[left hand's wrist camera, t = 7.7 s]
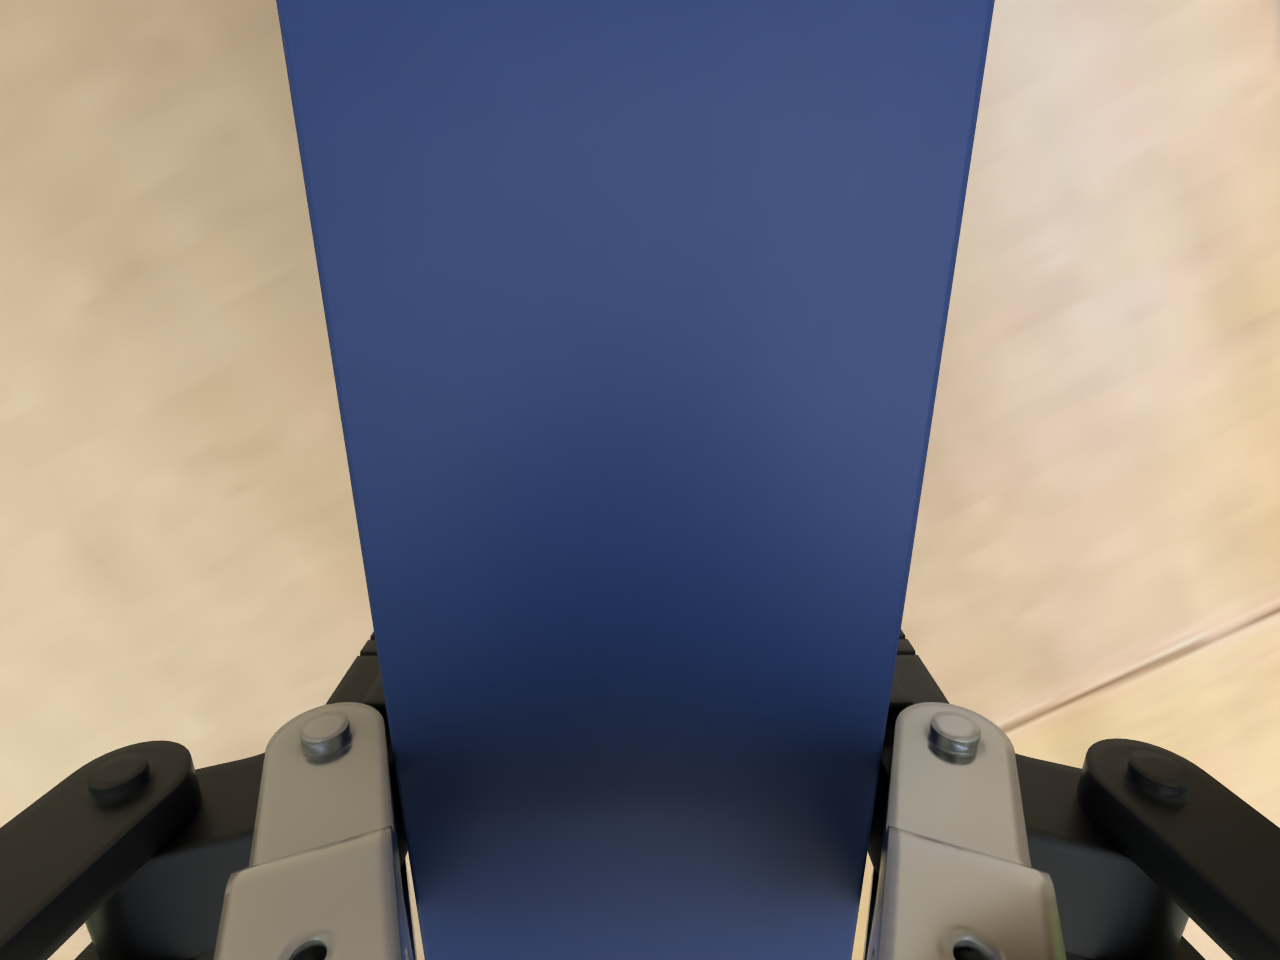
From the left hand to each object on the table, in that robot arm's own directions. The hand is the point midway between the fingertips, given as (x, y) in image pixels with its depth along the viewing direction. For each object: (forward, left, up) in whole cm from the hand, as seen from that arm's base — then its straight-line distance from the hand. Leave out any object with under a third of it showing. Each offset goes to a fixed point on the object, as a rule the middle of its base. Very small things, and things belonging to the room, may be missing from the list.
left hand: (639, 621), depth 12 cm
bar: (+8, 0, -3) cm, 8 cm away
